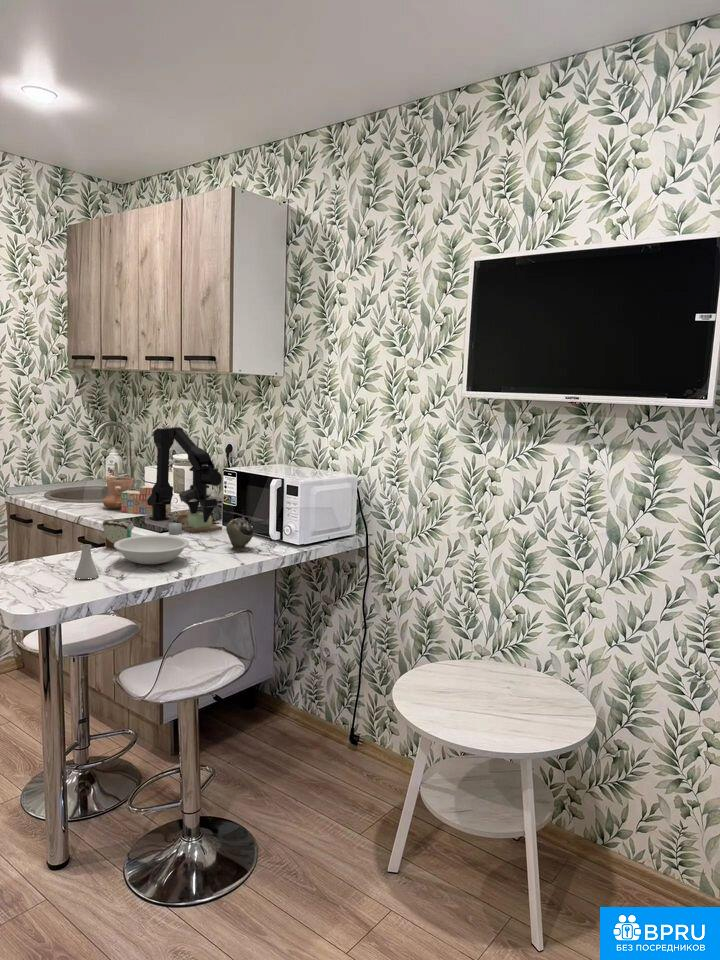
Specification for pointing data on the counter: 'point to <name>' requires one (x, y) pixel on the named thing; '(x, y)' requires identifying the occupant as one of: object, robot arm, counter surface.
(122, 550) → the soup bowl
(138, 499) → the stack of blocks
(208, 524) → the sage green brick
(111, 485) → the ceramic jug
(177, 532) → the grey plastic cylinder
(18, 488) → the counter surface
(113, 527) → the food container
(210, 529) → the walnut board
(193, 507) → the robot arm
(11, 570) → the counter surface
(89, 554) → the flask
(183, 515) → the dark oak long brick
